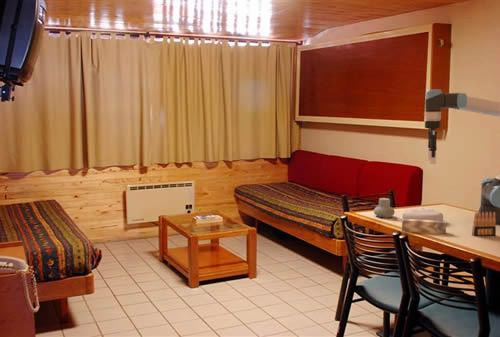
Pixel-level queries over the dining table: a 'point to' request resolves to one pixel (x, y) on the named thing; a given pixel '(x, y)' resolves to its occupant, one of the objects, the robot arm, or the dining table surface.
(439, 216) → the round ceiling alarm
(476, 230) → the ammunition clip
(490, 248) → the dining table surface
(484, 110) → the robot arm
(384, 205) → the air freshener
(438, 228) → the mottled beige block
